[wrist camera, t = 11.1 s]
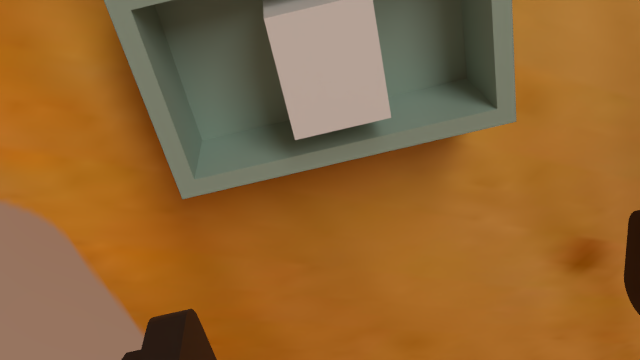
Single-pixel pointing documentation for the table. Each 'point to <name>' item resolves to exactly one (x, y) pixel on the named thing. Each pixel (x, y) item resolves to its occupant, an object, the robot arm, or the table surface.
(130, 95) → the table surface
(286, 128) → the sage green bin
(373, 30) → the pale pink block
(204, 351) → the robot arm
